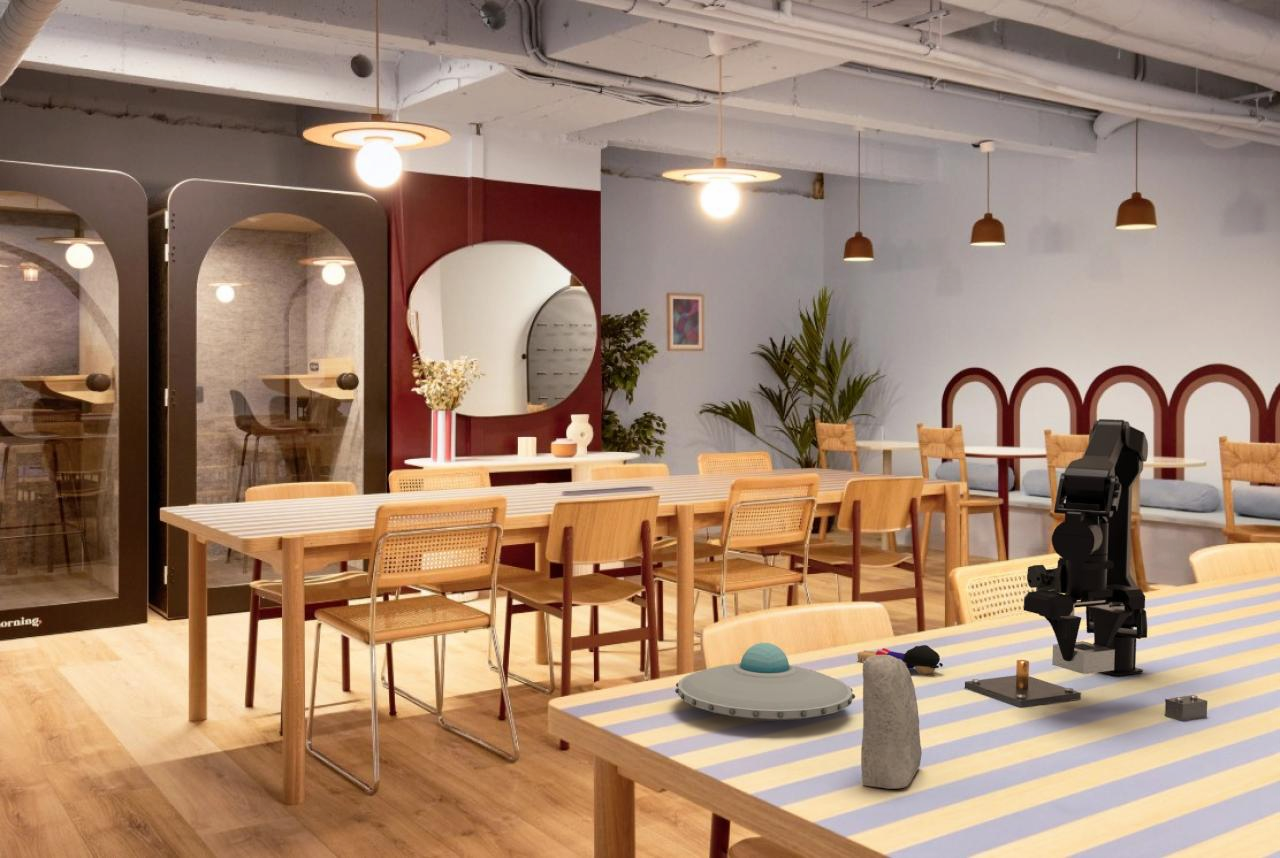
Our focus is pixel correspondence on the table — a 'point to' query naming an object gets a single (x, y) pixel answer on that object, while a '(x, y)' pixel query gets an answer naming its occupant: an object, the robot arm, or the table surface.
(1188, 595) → the table surface
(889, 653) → the toy
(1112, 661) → the socket
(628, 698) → the table surface
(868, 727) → the decorative stone
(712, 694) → the toy
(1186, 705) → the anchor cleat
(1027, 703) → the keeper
